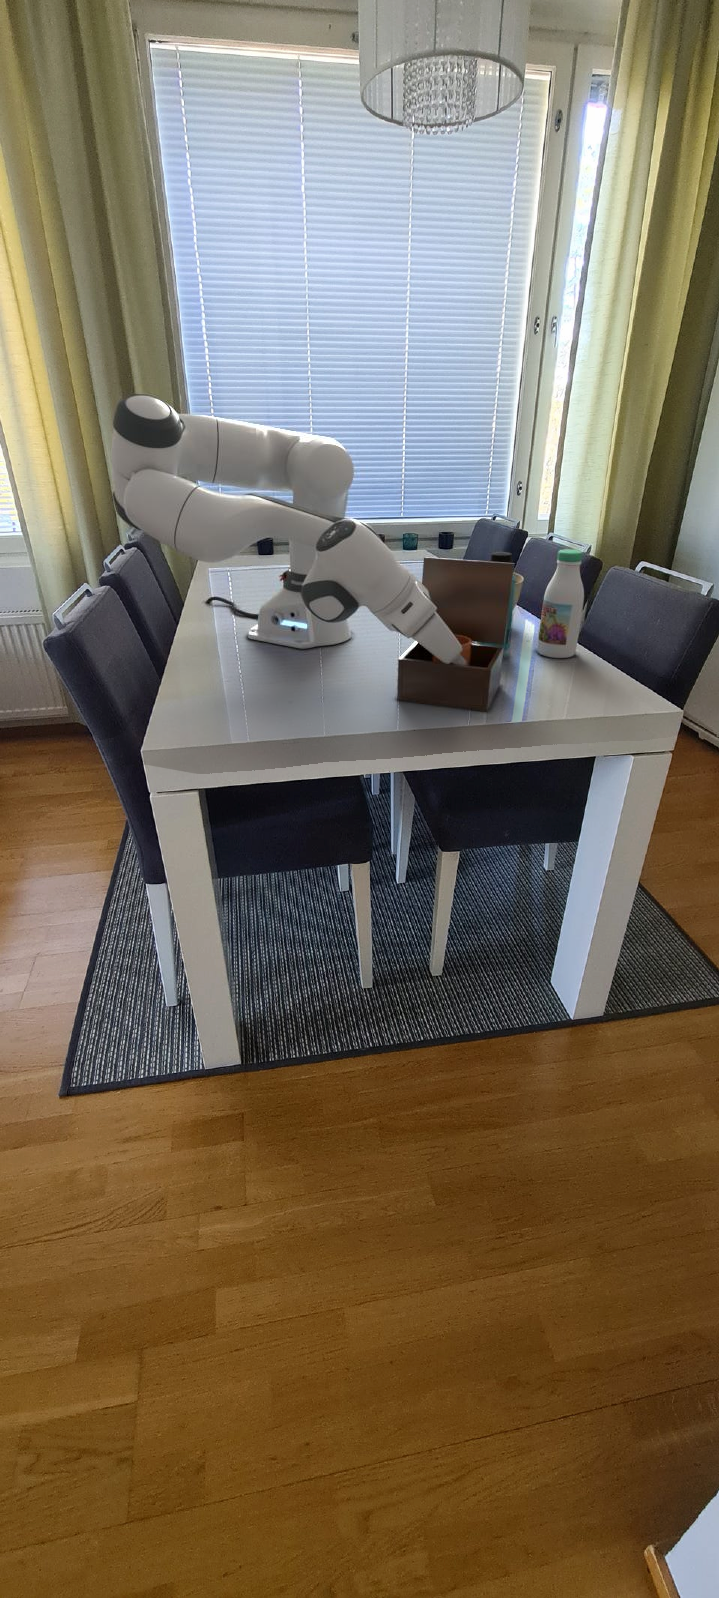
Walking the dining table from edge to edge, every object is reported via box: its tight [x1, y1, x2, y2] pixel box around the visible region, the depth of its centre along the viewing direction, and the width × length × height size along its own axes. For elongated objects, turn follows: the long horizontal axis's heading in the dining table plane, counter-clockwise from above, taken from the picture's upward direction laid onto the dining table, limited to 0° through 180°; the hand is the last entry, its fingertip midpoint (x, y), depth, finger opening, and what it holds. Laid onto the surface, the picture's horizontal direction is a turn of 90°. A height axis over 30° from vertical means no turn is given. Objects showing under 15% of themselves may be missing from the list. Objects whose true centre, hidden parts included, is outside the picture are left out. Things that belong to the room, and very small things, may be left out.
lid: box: [421, 556, 515, 644], centre depth 123 cm, size 14×16×5 cm
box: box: [396, 640, 504, 712], centre depth 121 cm, size 13×16×7 cm
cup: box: [432, 635, 473, 666], centre depth 119 cm, size 6×6×8 cm
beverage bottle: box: [477, 551, 516, 653], centre depth 135 cm, size 6×7×20 cm
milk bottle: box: [536, 548, 585, 659], centre depth 137 cm, size 8×8×20 cm
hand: (454, 657), depth 119 cm, fingers closed on cup, 6 cm apart
